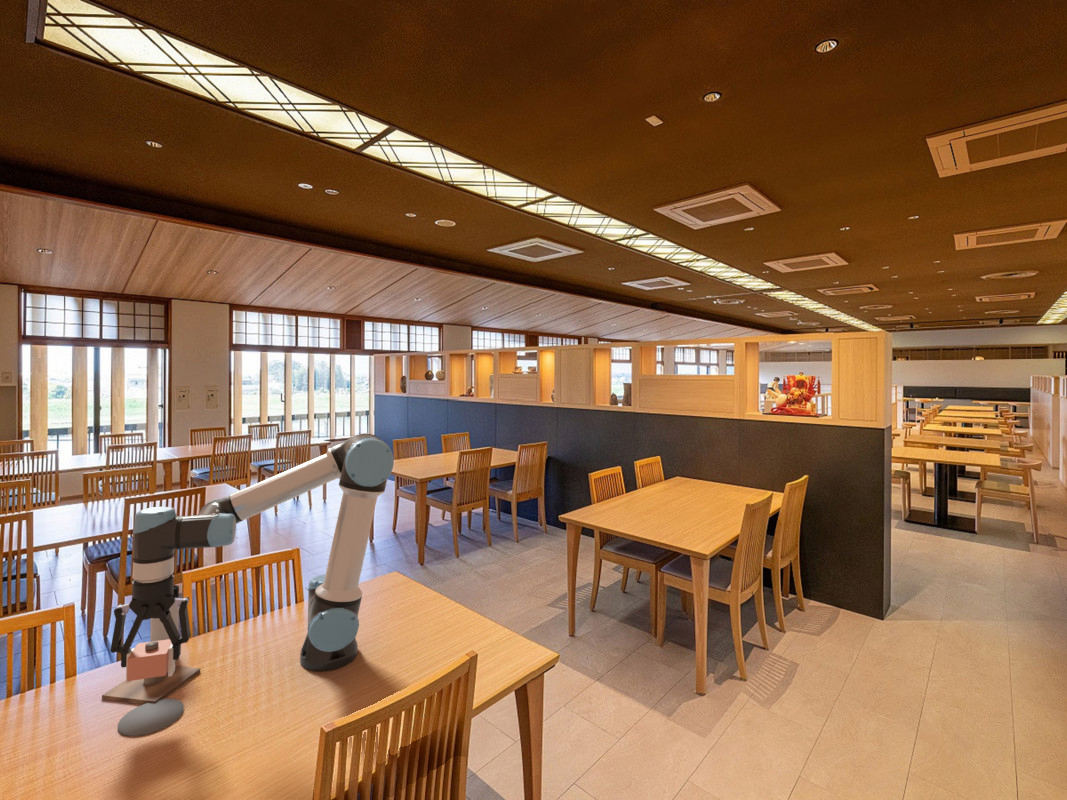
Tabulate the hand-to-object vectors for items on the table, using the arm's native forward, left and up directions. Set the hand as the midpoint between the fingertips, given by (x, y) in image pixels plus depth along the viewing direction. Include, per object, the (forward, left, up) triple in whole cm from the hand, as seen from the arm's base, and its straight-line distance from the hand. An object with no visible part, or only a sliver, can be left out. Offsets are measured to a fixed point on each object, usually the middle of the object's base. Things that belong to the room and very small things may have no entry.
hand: (151, 676), depth 115 cm
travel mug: (+17, -22, -10) cm, 30 cm away
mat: (0, 0, -10) cm, 10 cm away
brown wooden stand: (+10, -11, -10) cm, 18 cm away
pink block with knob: (0, 0, +1) cm, 1 cm away
